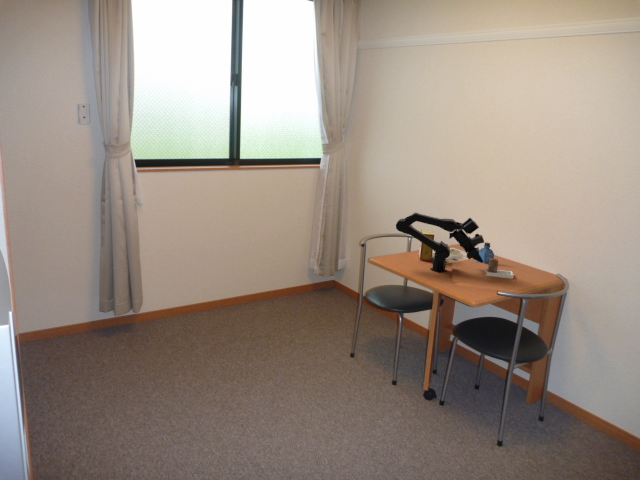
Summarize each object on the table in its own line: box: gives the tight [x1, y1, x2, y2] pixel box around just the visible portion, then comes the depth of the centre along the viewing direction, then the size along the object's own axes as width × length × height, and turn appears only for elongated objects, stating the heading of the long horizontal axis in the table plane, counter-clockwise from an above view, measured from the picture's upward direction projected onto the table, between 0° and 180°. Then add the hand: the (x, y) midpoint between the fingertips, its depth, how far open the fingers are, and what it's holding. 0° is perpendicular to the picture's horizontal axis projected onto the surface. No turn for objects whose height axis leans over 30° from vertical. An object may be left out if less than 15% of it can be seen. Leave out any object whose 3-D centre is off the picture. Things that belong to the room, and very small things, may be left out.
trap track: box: [485, 268, 514, 280], centre depth 249 cm, size 13×7×3 cm, turn 75°
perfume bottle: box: [476, 242, 495, 264], centre depth 271 cm, size 6×6×12 cm
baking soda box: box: [418, 229, 435, 262], centre depth 275 cm, size 10×6×16 cm
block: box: [487, 257, 499, 273], centre depth 249 cm, size 4×4×8 cm
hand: (482, 262), depth 249 cm, fingers closed
